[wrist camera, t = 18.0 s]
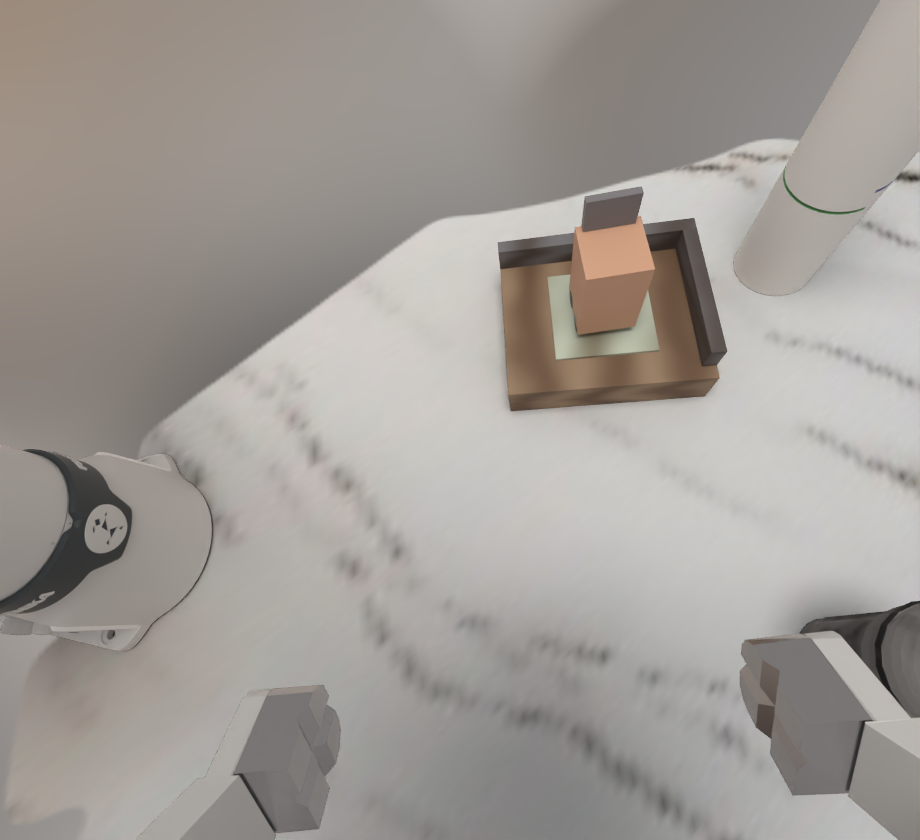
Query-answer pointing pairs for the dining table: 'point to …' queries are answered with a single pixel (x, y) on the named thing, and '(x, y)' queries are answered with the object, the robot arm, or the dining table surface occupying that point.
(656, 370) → the dock
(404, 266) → the dining table surface
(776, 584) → the dining table surface
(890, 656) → the beverage cup
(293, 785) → the robot arm
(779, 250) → the cylindrical container
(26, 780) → the dining table surface
